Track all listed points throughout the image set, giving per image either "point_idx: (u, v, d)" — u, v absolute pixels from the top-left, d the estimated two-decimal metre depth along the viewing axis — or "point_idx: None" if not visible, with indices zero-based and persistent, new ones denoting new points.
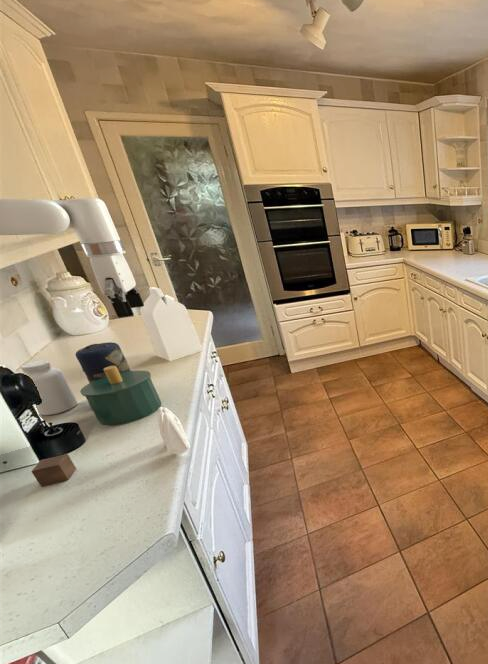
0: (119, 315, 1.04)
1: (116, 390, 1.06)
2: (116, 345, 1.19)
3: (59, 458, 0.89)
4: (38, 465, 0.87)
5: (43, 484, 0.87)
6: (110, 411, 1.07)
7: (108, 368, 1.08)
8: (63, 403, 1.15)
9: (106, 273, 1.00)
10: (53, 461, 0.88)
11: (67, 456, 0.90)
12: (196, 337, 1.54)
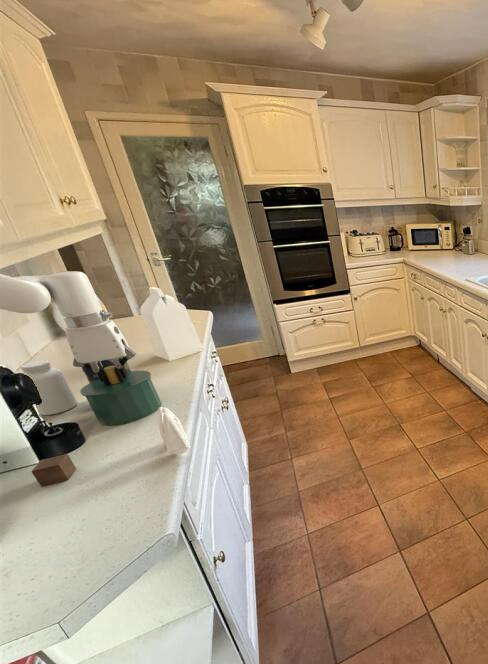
0: None
1: (116, 390, 1.06)
2: None
3: (59, 458, 0.89)
4: (38, 465, 0.87)
5: (43, 484, 0.87)
6: (110, 411, 1.07)
7: (108, 368, 1.08)
8: (63, 403, 1.15)
9: None
10: (53, 461, 0.88)
11: (67, 456, 0.90)
12: (196, 337, 1.54)
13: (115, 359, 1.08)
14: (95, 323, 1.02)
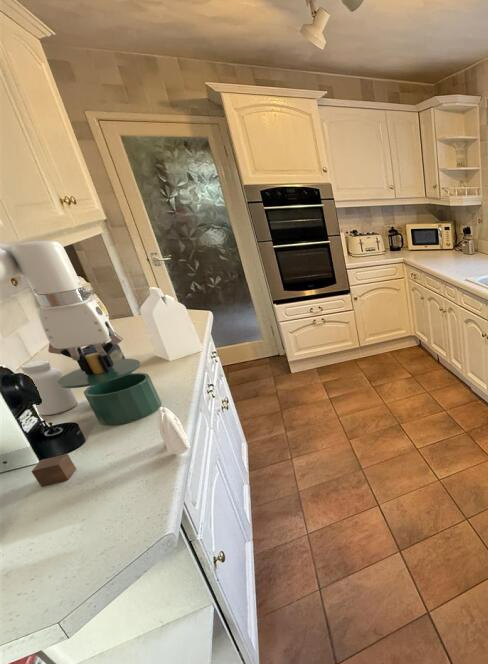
0: None
1: (99, 380, 0.91)
2: (116, 345, 1.19)
3: (59, 458, 0.89)
4: (38, 465, 0.87)
5: (43, 484, 0.87)
6: (110, 411, 1.07)
7: (90, 355, 0.93)
8: (63, 403, 1.15)
9: None
10: (53, 461, 0.88)
11: (67, 456, 0.90)
12: (196, 337, 1.54)
13: (98, 345, 0.93)
14: (73, 302, 0.87)
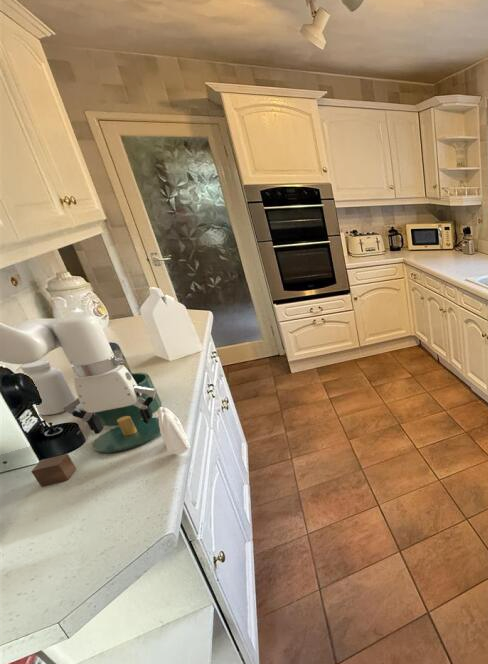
0: None
1: (131, 444, 0.98)
2: (116, 345, 1.19)
3: (59, 458, 0.89)
4: (38, 465, 0.87)
5: (43, 484, 0.87)
6: (110, 411, 1.07)
7: (122, 419, 1.01)
8: (63, 403, 1.15)
9: None
10: (53, 461, 0.88)
11: (67, 456, 0.90)
12: (196, 337, 1.54)
13: (134, 402, 1.00)
14: (106, 371, 0.94)
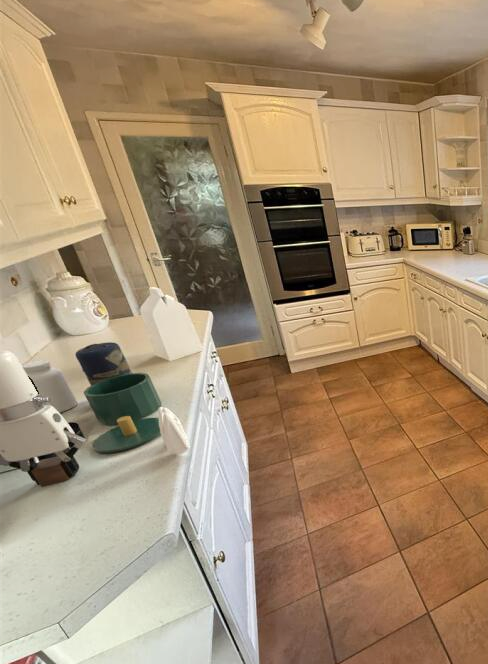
0: None
1: (131, 444, 0.98)
2: (116, 345, 1.19)
3: (59, 458, 0.89)
4: (38, 465, 0.87)
5: (43, 484, 0.87)
6: (110, 411, 1.07)
7: (122, 419, 1.01)
8: (63, 403, 1.15)
9: None
10: (53, 461, 0.88)
11: None
12: (196, 337, 1.54)
13: (59, 452, 0.87)
14: (27, 414, 0.81)
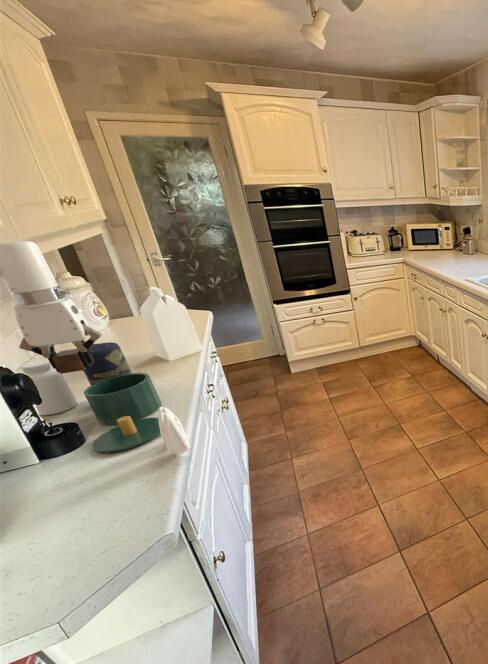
0: None
1: (131, 444, 0.98)
2: (116, 345, 1.19)
3: (76, 350, 0.97)
4: (57, 354, 0.95)
5: (62, 371, 0.95)
6: (110, 411, 1.07)
7: (122, 419, 1.01)
8: (63, 403, 1.15)
9: None
10: (71, 352, 0.96)
11: None
12: (196, 337, 1.54)
13: (76, 342, 0.95)
14: (48, 301, 0.89)
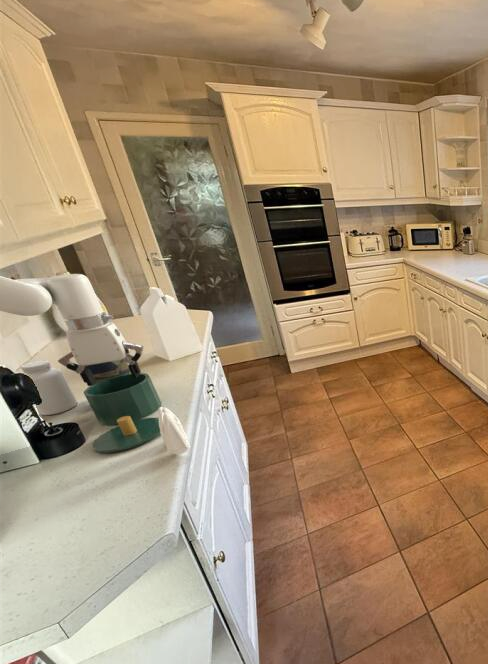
0: None
1: (131, 444, 0.98)
2: None
3: None
4: None
5: None
6: (110, 411, 1.07)
7: (122, 419, 1.01)
8: (63, 403, 1.15)
9: None
10: None
11: None
12: (196, 337, 1.54)
13: (123, 357, 1.08)
14: (96, 325, 1.02)
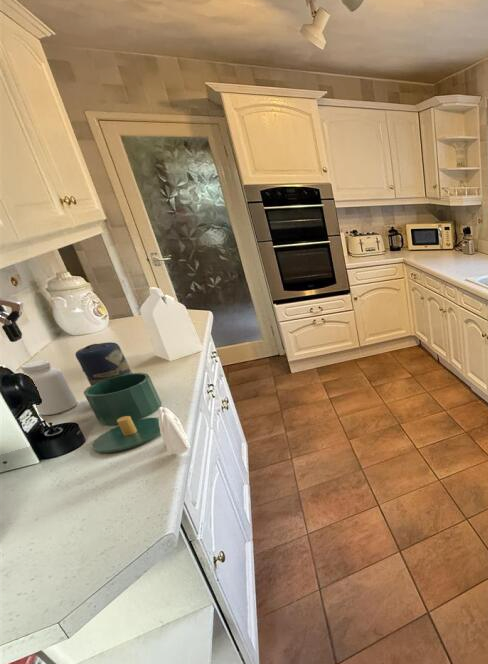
0: None
1: (131, 444, 0.98)
2: (116, 345, 1.19)
3: None
4: None
5: None
6: (110, 411, 1.07)
7: (122, 419, 1.01)
8: (63, 403, 1.15)
9: None
10: None
11: None
12: (196, 337, 1.54)
13: None
14: None
